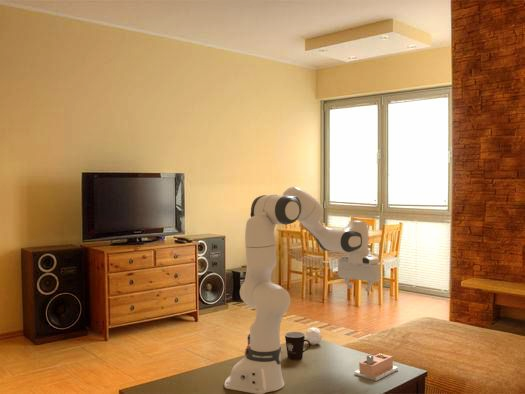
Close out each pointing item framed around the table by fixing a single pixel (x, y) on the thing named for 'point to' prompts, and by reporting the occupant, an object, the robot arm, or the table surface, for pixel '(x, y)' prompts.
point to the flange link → (376, 365)
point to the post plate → (379, 375)
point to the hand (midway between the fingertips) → (358, 289)
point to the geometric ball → (313, 335)
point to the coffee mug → (295, 345)
